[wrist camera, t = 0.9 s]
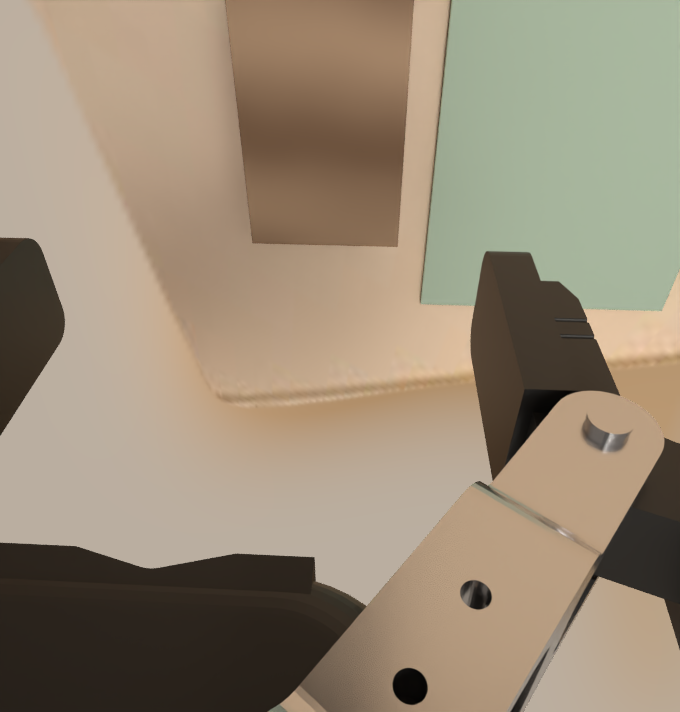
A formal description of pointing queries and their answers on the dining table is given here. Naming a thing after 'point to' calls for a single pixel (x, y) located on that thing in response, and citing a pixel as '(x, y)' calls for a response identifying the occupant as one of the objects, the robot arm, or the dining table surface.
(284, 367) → the dining table surface
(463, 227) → the mat
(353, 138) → the stool
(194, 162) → the dining table surface
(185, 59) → the dining table surface
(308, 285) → the dining table surface
